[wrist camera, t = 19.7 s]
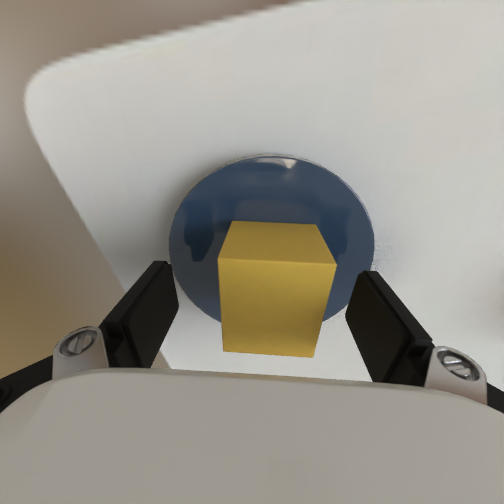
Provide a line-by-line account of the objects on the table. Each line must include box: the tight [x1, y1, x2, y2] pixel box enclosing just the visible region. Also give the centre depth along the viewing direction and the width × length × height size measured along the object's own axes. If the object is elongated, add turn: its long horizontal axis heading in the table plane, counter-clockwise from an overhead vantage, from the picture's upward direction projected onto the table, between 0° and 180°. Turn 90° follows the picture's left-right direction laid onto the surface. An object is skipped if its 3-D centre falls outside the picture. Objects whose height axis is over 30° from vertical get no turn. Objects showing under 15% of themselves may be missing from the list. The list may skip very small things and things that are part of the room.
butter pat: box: [217, 221, 337, 358], centre depth 11 cm, size 4×6×4 cm
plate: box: [169, 154, 374, 322], centre depth 13 cm, size 12×12×1 cm
